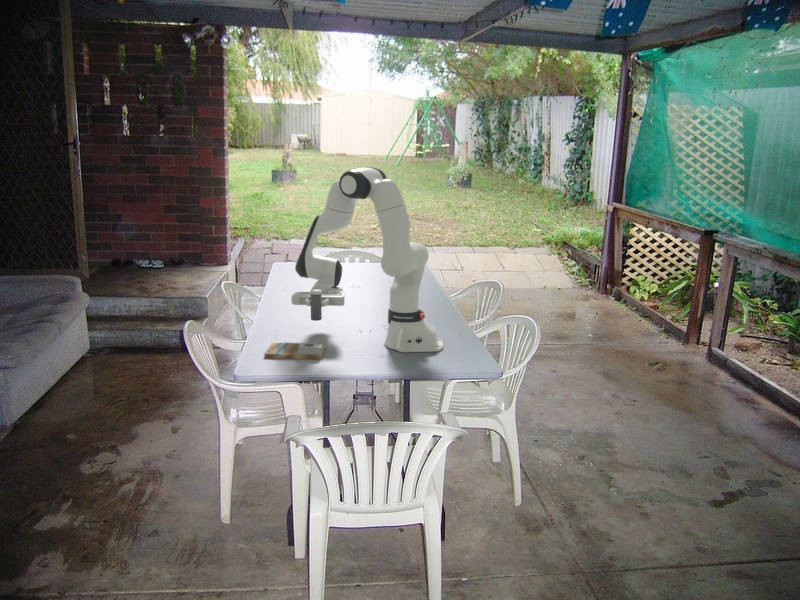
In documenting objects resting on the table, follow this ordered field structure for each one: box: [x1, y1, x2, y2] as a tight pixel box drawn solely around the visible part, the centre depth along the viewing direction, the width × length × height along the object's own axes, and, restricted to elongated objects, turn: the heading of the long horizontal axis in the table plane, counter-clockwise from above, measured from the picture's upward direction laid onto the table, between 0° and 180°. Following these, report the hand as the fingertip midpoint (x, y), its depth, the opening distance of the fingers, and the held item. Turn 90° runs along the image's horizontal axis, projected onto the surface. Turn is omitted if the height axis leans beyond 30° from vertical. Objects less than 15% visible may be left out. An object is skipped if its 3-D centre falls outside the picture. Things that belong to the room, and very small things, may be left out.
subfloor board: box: [264, 342, 326, 361], centre depth 249 cm, size 20×13×2 cm, turn 89°
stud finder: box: [298, 342, 323, 355], centre depth 245 cm, size 8×4×3 cm, turn 89°
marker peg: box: [309, 289, 323, 322], centre depth 255 cm, size 4×4×11 cm
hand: (315, 304), depth 254 cm, fingers closed on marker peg, 4 cm apart
